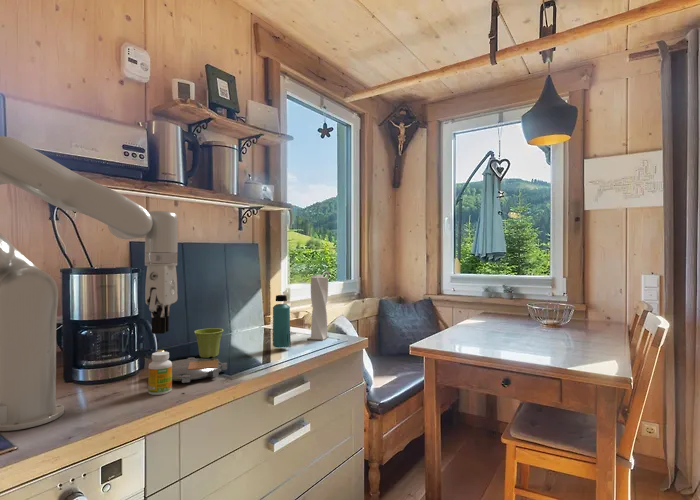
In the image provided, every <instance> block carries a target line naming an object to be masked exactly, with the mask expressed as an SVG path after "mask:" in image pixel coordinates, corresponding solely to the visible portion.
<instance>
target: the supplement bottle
mask: <svg viewBox="0 0 700 500" xmlns="http://www.w3.org/2000/svg"><path fill="white" fill-rule="evenodd" d="M169 358H170V352H169V351H164V352H157V351H155V352H153V353H151V360H152V361H151V362H149V364H148V370H149V376H148V377H147V378H148V379H147V380H148V381H147V382H148V384H147V385H148V387H147V388H148V394H149V395H152V396H160V395H166V394H169V393H170V392H172V390H173V381H172V361H171V360H170V359H169Z"/></svg>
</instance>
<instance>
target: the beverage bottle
mask: <svg viewBox="0 0 700 500" xmlns="http://www.w3.org/2000/svg"><path fill="white" fill-rule="evenodd" d="M287 301H288V297H287V295H286V294H279V295H277V294H276V295H275V302H287ZM290 309H291V306H290V305H289V304H287V303H286V304H285V303H277V304H274V306H273V307H272V326H271V327H272V346H273V347H274V348H281V349H282V348H288V347H290V346H291V316H290V315H291V313H290V311H291V310H290Z"/></svg>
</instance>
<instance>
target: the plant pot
mask: <svg viewBox="0 0 700 500" xmlns="http://www.w3.org/2000/svg"><path fill="white" fill-rule="evenodd" d="M223 332H224V329H223V328H216V327H215V328H213V327H211V328H210V327H209V328H202V329H196V330H194V334H195V337H196V341H197V347H198V354H199V357H200V358H201V359H210V357H212V358H217V357H218V356H219V354H220V347H221V346H220V345H221V341H222V340H221V339H222V335H223Z"/></svg>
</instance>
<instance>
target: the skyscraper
mask: <svg viewBox="0 0 700 500" xmlns="http://www.w3.org/2000/svg"><path fill="white" fill-rule="evenodd" d="M326 273H327V276H324V274H326ZM329 275H330V272H329V271H327V270H326V271H324V272H323V273H322V274H316V275H314V274H313V275H311V276H310V300H311V306H312V310H311V326H310V332H311V333H310V336H309V337H308V338H307V341H320V340H324V341H325V340H327V339H328V338H329V335H328V315H327V314H328V313H327V304H328V303H327V302H328V298H329V297H328V296H329V295H328V294H329Z"/></svg>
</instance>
